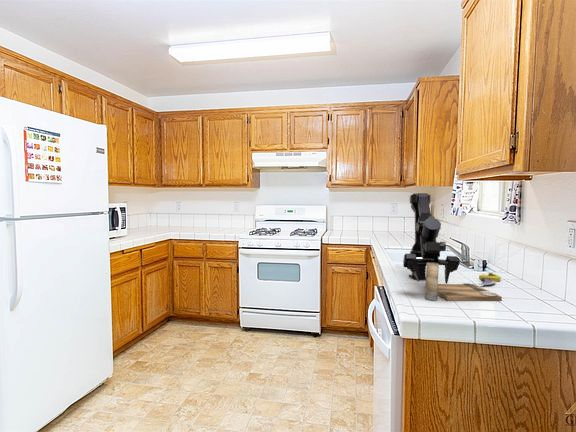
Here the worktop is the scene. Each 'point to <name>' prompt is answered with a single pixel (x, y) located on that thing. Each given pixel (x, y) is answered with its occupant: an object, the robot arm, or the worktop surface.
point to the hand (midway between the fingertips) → (432, 281)
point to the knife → (489, 278)
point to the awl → (431, 281)
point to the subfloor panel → (465, 293)
